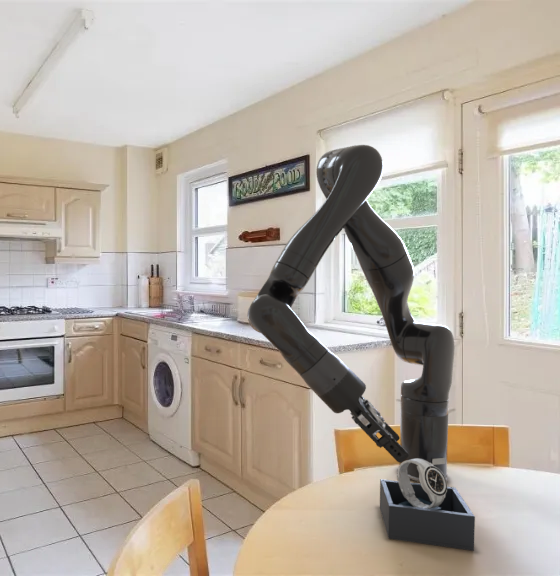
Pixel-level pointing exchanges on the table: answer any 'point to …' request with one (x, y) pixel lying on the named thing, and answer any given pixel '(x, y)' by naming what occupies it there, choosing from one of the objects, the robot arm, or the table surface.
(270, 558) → the table surface
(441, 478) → the watch
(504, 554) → the table surface
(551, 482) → the table surface
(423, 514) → the box
